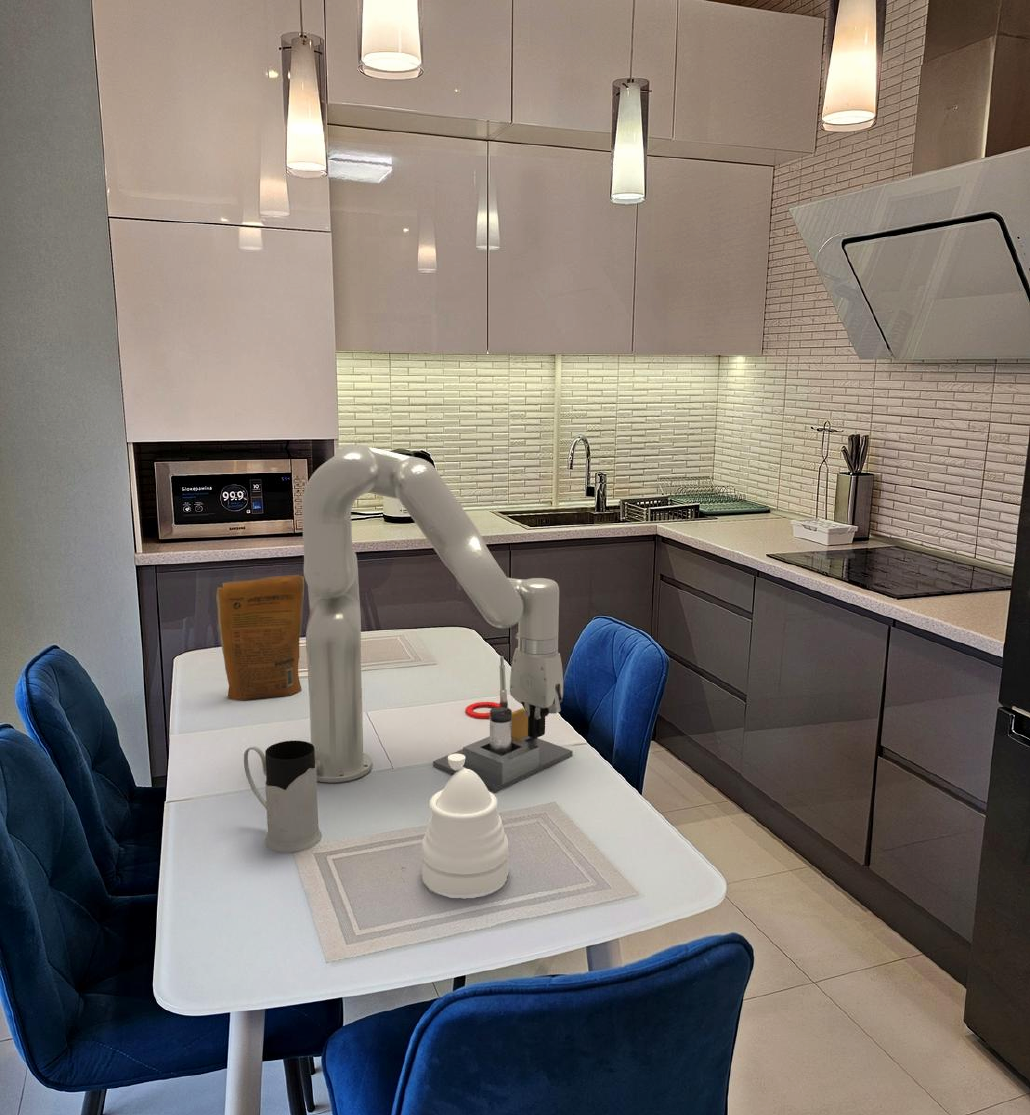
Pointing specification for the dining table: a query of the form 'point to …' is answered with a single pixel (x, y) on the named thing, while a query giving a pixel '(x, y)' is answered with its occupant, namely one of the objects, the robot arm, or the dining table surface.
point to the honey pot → (464, 837)
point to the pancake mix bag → (261, 636)
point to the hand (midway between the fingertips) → (536, 735)
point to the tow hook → (502, 703)
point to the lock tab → (520, 725)
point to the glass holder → (289, 795)
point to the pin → (500, 730)
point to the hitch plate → (544, 762)
